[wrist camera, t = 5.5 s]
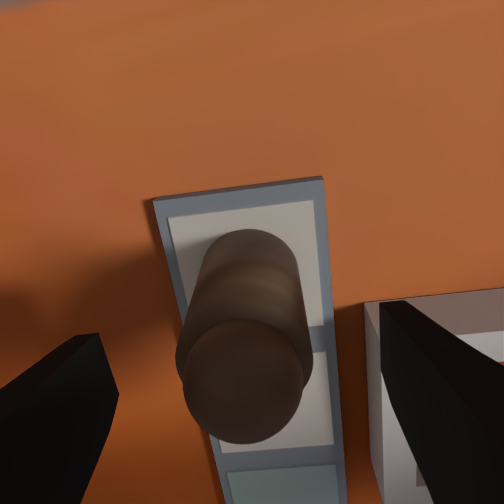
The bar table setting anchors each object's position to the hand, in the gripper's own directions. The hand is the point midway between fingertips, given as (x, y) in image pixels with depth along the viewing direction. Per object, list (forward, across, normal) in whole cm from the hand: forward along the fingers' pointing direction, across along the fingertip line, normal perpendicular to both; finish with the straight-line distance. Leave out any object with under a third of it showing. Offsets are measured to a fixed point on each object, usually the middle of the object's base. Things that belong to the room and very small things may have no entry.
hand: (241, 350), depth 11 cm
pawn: (+4, 0, 0) cm, 4 cm away
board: (+5, 0, +6) cm, 8 cm away
